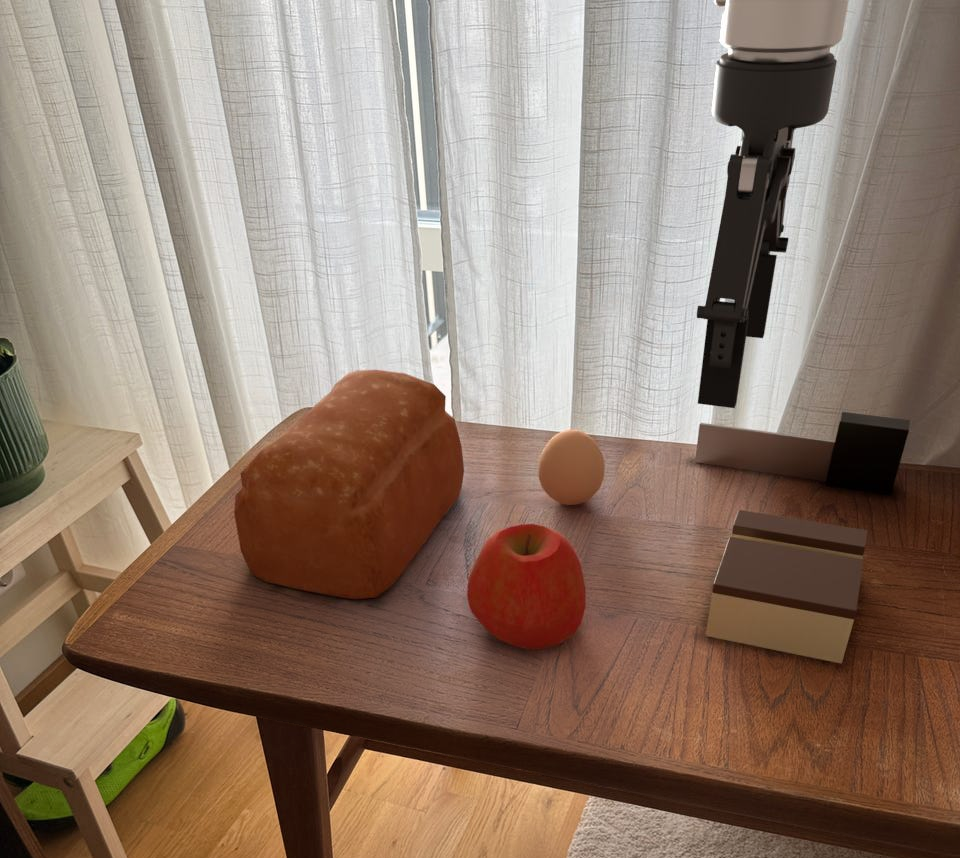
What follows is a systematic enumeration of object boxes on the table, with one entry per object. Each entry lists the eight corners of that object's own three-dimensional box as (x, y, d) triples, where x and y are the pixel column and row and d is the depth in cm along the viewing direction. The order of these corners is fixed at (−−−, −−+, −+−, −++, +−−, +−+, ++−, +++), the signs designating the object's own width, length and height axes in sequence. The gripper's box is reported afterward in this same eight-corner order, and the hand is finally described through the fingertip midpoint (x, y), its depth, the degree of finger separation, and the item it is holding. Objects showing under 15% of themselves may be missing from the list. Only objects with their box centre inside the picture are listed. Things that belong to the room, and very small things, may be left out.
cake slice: (853, 581, 90) (867, 530, 86) (851, 598, 88) (865, 547, 84) (730, 559, 94) (738, 509, 90) (725, 575, 92) (733, 525, 88)
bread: (235, 579, 95) (201, 450, 85) (343, 466, 112) (325, 349, 103) (384, 610, 90) (365, 477, 80) (473, 487, 107) (466, 366, 98)
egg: (553, 479, 108) (554, 412, 102) (612, 491, 105) (616, 423, 100) (527, 509, 103) (526, 441, 97) (588, 523, 100) (591, 453, 95)
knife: (891, 484, 104) (910, 419, 99) (890, 495, 102) (909, 430, 97) (697, 456, 110) (704, 394, 105) (693, 466, 109) (700, 403, 104)
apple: (457, 655, 84) (450, 560, 77) (488, 586, 92) (483, 494, 85) (573, 672, 82) (576, 575, 75) (594, 600, 90) (598, 506, 83)
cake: (849, 611, 87) (863, 559, 83) (841, 664, 81) (856, 610, 77) (721, 587, 90) (729, 536, 87) (705, 636, 85) (713, 584, 81)
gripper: (749, 24, 69) (714, 307, 82) (676, 85, 51) (648, 431, 65) (854, 24, 66) (801, 315, 80) (816, 87, 49) (756, 446, 63)
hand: (732, 367), depth 72 cm, fingers open, 13 cm apart
